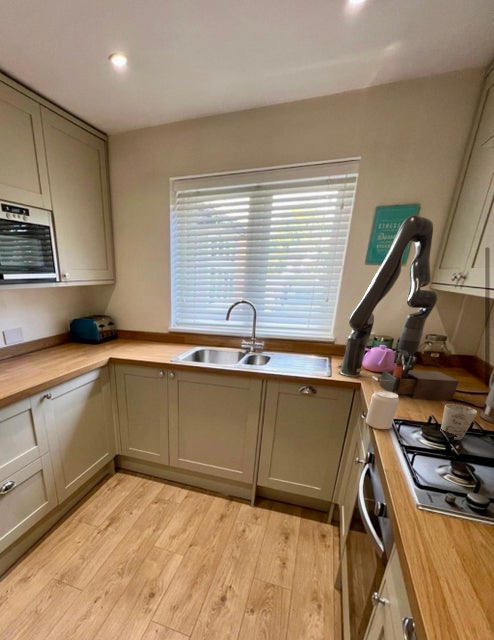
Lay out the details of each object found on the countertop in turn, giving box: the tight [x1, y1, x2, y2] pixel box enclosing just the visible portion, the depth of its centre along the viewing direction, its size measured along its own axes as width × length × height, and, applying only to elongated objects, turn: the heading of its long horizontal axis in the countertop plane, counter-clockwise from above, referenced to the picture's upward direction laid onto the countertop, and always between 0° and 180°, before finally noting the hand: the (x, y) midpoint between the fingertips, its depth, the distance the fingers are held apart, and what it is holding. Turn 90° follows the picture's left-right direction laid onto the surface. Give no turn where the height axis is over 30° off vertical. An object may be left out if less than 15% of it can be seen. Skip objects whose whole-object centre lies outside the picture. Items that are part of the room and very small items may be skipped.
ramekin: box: [393, 365, 409, 379], centre depth 148 cm, size 6×6×5 cm
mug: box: [440, 403, 478, 441], centre depth 111 cm, size 8×13×10 cm, turn 135°
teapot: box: [362, 344, 397, 373], centre depth 181 cm, size 22×22×14 cm
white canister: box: [365, 390, 400, 430], centre depth 116 cm, size 8×8×12 cm
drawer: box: [371, 371, 417, 395], centre depth 150 cm, size 21×12×7 cm, turn 83°
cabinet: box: [407, 369, 460, 401], centre depth 149 cm, size 16×14×9 cm
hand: (400, 375), depth 149 cm, fingers closed on ramekin, 5 cm apart
